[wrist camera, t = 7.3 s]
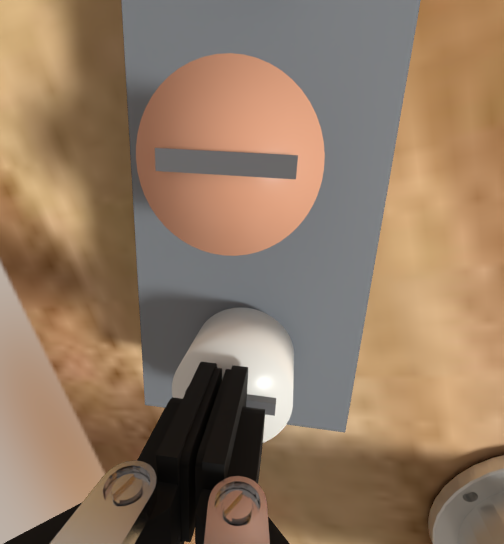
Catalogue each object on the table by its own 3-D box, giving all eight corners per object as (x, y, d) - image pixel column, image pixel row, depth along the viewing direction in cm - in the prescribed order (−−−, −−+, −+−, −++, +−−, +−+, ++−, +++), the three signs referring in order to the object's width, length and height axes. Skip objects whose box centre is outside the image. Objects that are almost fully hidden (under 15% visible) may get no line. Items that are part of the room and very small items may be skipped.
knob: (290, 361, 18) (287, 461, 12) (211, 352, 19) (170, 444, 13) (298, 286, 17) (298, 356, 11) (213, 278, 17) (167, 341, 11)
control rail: (334, 371, 21) (345, 432, 16) (178, 352, 22) (145, 404, 17) (412, -150, 13) (476, -323, 9) (168, -140, 14) (104, -288, 10)
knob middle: (306, 221, 14) (314, 266, 8) (204, 213, 14) (135, 251, 8) (318, 104, 13) (338, 51, 7) (205, 100, 13) (123, 46, 7)
